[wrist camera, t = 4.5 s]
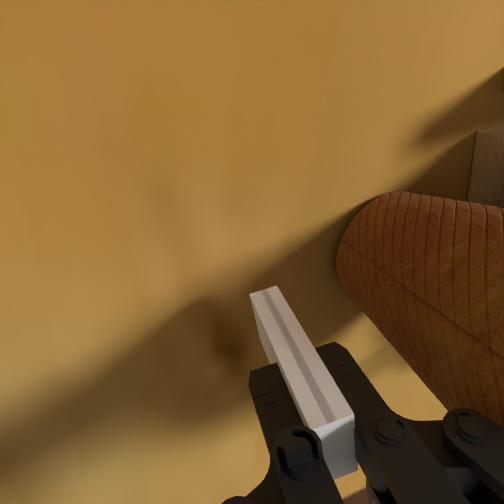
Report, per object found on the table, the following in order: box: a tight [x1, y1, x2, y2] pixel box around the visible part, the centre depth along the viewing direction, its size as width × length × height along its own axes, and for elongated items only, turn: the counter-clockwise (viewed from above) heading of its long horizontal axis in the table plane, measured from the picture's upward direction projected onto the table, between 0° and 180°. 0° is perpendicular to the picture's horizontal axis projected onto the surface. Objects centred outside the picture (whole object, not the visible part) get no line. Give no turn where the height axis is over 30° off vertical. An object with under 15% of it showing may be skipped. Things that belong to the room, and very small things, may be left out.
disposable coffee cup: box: [336, 191, 504, 429], centre depth 13 cm, size 10×10×12 cm
